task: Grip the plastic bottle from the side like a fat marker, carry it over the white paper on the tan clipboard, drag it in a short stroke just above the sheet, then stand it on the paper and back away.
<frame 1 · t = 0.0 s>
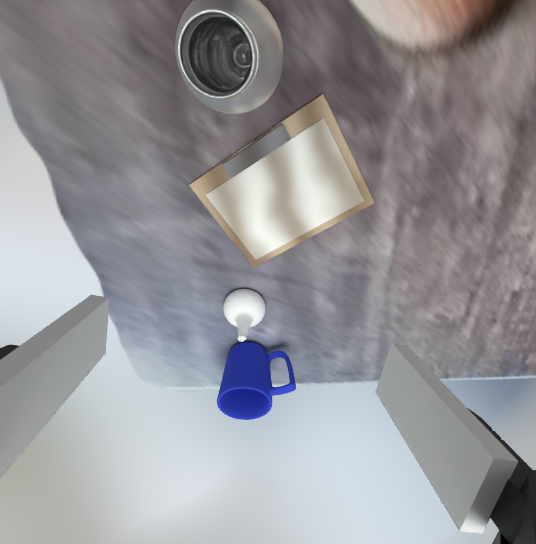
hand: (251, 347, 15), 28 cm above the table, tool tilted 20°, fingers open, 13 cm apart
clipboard: (282, 192, 39), on the table
plastic bottle: (245, 55, 32), on the table
mug: (258, 349, 55), on the table
garlic bulb: (245, 301, 50), on the table
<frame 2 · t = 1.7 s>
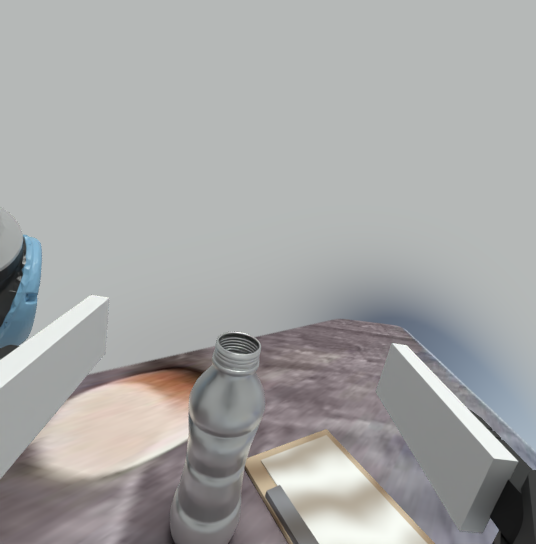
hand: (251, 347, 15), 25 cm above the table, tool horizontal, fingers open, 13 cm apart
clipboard: (334, 507, 35), on the table
plastic bottle: (201, 530, 30), on the table
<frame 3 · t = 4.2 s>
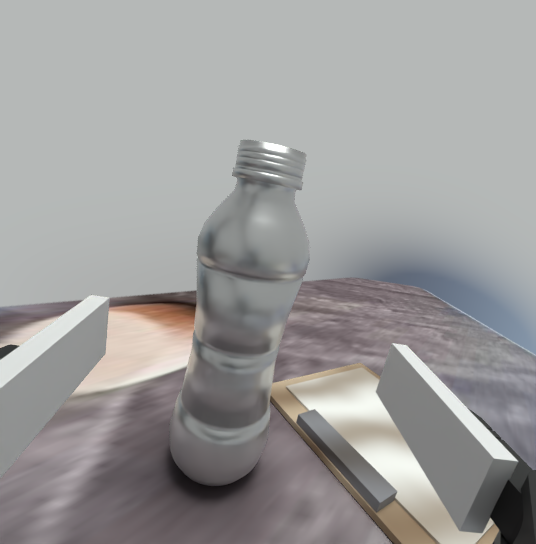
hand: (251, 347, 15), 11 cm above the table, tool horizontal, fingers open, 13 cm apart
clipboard: (387, 439, 27), on the table
plastic bottle: (214, 458, 22), on the table
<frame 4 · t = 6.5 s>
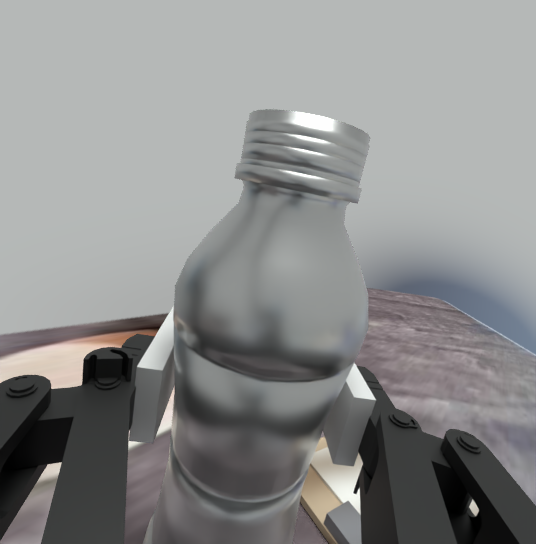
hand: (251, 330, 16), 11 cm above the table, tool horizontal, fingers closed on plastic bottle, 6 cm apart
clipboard: (448, 541, 19), on the table
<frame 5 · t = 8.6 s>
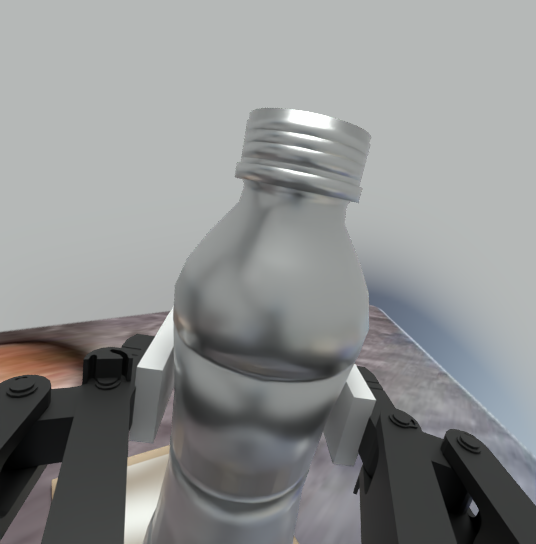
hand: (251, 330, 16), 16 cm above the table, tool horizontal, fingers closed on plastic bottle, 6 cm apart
when the fingers open (12 cm above the table, at t = 11.0 s): plastic bottle stays where it is, resting on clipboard.
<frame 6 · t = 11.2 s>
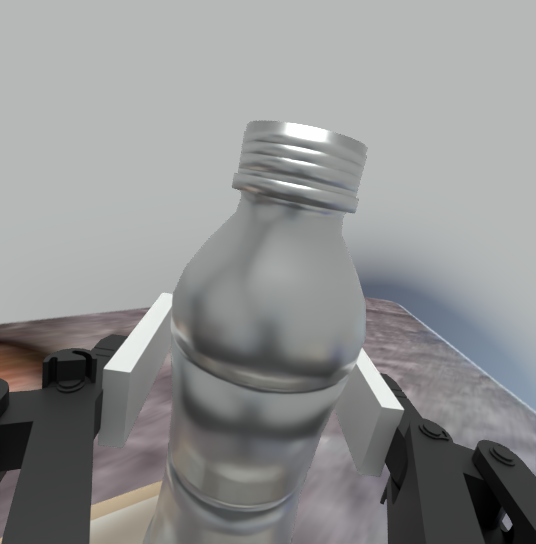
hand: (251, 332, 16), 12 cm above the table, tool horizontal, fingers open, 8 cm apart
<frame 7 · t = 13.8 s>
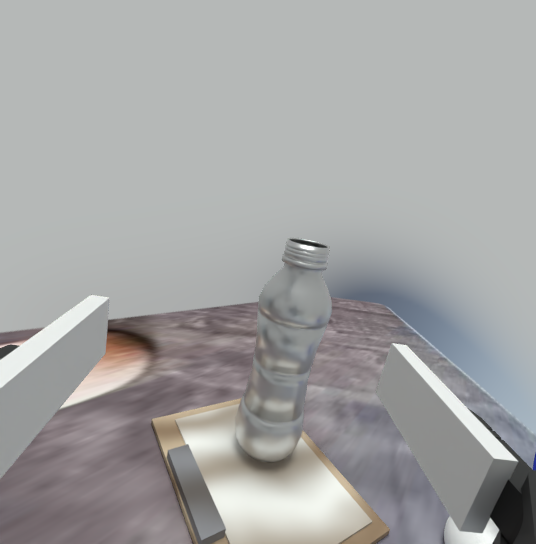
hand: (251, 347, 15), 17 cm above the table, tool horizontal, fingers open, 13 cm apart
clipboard: (256, 472, 28), on the table
plastic bottle: (263, 445, 31), point 1 cm above the table, touching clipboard
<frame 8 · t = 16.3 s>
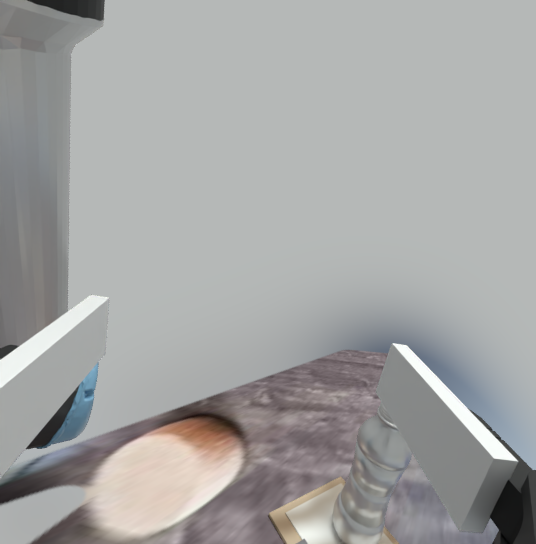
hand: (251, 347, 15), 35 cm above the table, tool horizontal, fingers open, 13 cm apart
plastic bottle: (352, 533, 43), point 1 cm above the table, touching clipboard
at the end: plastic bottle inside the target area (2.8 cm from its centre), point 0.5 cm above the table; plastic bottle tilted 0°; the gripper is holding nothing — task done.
